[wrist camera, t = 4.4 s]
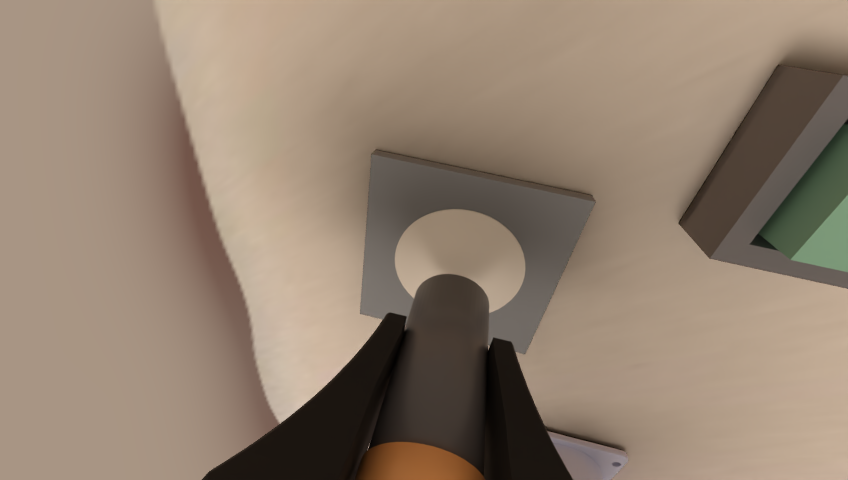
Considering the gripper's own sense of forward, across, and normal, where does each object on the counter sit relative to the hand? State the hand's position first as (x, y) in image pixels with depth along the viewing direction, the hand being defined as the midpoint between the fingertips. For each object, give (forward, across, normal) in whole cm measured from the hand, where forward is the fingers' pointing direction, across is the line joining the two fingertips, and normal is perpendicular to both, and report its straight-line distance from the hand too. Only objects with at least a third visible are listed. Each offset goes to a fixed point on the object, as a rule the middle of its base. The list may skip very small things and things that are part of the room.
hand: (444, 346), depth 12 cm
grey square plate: (+5, 0, 0) cm, 5 cm away
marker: (+2, 0, 0) cm, 2 cm away
